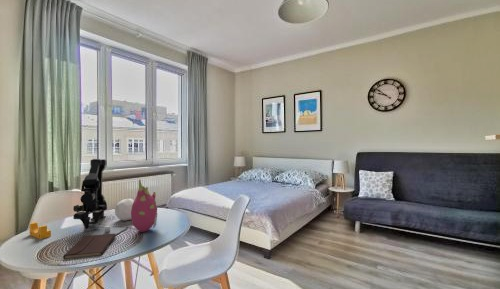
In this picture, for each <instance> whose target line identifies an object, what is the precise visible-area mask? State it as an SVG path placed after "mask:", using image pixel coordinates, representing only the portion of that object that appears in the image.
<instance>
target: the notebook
mask: <svg viewBox="0 0 500 289" xmlns="http://www.w3.org/2000/svg"><path fill="white" fill-rule="evenodd" d="M116 236H117V235H116V234H103V235H90V234H87V235H85V234H84V235H83V236H81V238H80V239H79V240H78V241H77V242H76V243H75V244H74V245H73V246H72V247H70V249H69V250H67V251H66V253H64V255H63V256H62V257H63V260H67V259H68V260H69V259H78V258H87V257H88V258H89V257H97V256H98V257H99V256H102V255H103V253H104V252H105V251H106V249H107V248H108V247H109V245H110V244H111V243H112V241H113V240H114V238H115V237H116Z"/></svg>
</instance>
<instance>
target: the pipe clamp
mask: <svg viewBox="0 0 500 289" xmlns="http://www.w3.org/2000/svg"><path fill="white" fill-rule="evenodd" d="M29 236H32V237H34V238H37V239H40V240H42V239H46V238H48V237H51V236H52V230H51V229H48V225H46V224H44V225H39V226H38V222H37V221H34V222H29Z"/></svg>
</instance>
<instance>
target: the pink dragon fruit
mask: <svg viewBox="0 0 500 289" xmlns="http://www.w3.org/2000/svg"><path fill="white" fill-rule="evenodd" d="M141 181H142V180H141V179H139V180H138V190H137V192H136V197H135V198H134V199H133V200H134V202H133V205H132V209H131V219H130V220H131V223H132V225H133V226H134V229H136V230H137V231H138V232H141V233H143V232H147V231H149V230H150V229H151V228H153V229H154V228H155V227H156V225H157V220H158V213H157V212H158V205H157V202H156V196H157V195H156V192H155V191H153V193H152V195H151V193H150V192H149V190H148V187H147V186H146V187H145V186H144V185H142V182H141Z"/></svg>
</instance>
